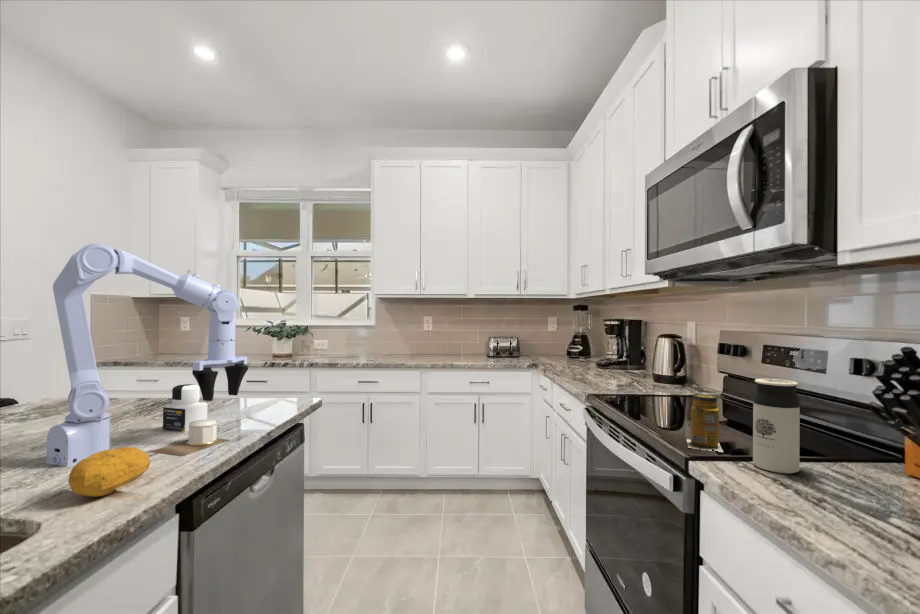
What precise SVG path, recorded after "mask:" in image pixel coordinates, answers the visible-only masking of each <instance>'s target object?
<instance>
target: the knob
mask: <svg viewBox="0 0 920 614" xmlns="http://www.w3.org/2000/svg"><path fill="white" fill-rule="evenodd" d="M219 439H220V438H219V437H217V438H216V440H214V441H212V442H208V443H201V444H192V443H190V442H189V439H187V440H188V441H187V440H186V441H187V445H189V446H204V445H210V444H214V443H216V442H218V441H219Z"/></svg>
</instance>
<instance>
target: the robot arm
mask: <svg viewBox="0 0 920 614" xmlns="http://www.w3.org/2000/svg"><path fill="white" fill-rule="evenodd" d="M114 270H115V271H114ZM113 271H114V274H115V275H130V274H131V275H135V276H138V277H140V278H143V279H145V280H149V281H152V282H153V283H157V284H159V285H162V286H164V287H167V288H170V289H171V290H172V291H173V294H174V296H175V297H176V298H178V299H181V300H185V301H186V302H189V303H191V304H194V305H195V306H199V307H200V308H207V310H208V311H209V321H208V342H207V343H208V344H207V345H208V349H207V351H208V352H207V358H206V359H202V360H201V359H200V360H196V361H192V370H191V371H192V376H193V377H194V378H195V381H196V382H197V385H198V386H199V387H200V392H201V397H202V401H203V402H205V401H206V402H212V401H213V399H214V395H215V394H214V393H215V384H216V380H217V376H218V374H219V371H217V370H213V369H216V368H217V369H218V368H224V371H225V374H226V378H227V393H228V396H238V394H239V390H240V388H241V384H242V381H243V379H244V376H245V374H246V373H247V372H248V371H249V365H248V356H247V355H246V356H241V355H239V356H236V331H237V330H236V324H237V321H236V312H237V310H239V308H240V305H241V302H240V301H239V298H238V296H237V295H236V294H235V293H234V292H233V291H231V290H229V289H221V285H219V284H213V283H210V282H208V281H206V280H203V279H201V276H200V275H198V274H196V273H194V274H192V275H191V274H189V273H186V274H185V273H184V274H181V275H177V274H175V273H173V272H171V271H169V270H167V269H164V268H162V267H161V266H158V265H156V264H154V263H152V262H149V261H148V260H145V259H144V258H142V257H139V256H137V255H135V254H132V253H130V252H127V251H124V250H121V249H119V248H114V249H112V247H110V246H108V245H106V244H103V243H98V242H97V243H90V244H87V245H85V246H83V247H82V248H80V249H79V250H78V251H76V252H75V253H73V254H72V255H71V256H70V257H69V260H68V261H67V263H66V264H65V266H64V267H63V268H62V269H61V272H60V273H59V274H58V276H57V277H56V279H55V281H54V282H53V283H52V291H53V296H54V301H55V306H56V311H57V317H58V322H59V327H60V333H61V338H62V343H63V350H64V353H65V354H64V355H65V360H66V364H67V370H68V376H69V380H70V387H71V388H70V391H69V394H68V397H67V403H68V410H69V414H67V416H65V417H64V421H63V422H61V423H59V424H56V425H54V426H52V427H50V428H49V430H48V431H47V436H46V458H45V460H46V464H47V465H51V466H52V465H53V466H60V467H66V468H67V467H68V468H69V467H74V466H75V465H76V464H78V463H79V462H80V461H81V460H82V459H85V458H87V457H89V456H91V455H93V454H95V453H98V452H101V451H104V450H110V446H111V445H110V444H111V443H110V440H111V439H110V438H111V435H110V433H111V431H110V430H111V413H110V412H107V411H108V409H109V407H110V397H109V395H108V393H107V392H106V390H105V388H104V387H102V385H101V381H100V376H99V372H98V371H99V370H98V366H97V361H96V356H95V350H94V344H93V340H92V335H91V327H90V323H89V317H88V311H87V305H86V301H85V297H84V293H85V292H86V291H87V290H88V289H89V288H90V287H91V286H92V285H93V284H94V283H95V281H97V280H99V279H101V278H103V277H105V276H106V275H108V274H110V273H111V272H113Z"/></svg>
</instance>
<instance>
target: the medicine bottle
mask: <svg viewBox="0 0 920 614" xmlns="http://www.w3.org/2000/svg"><path fill="white" fill-rule="evenodd" d="M171 391H172V392H171V396H172V397H171V402H172V403H170V404H166V405H163V408H162V409H163V410H162V430H163V431H172V432H179V433H181V432H182V433H186V432H189V423H190V422H193V421H197V420H208V406H209V405H208V402H205V401H203V402H202V401H200V392H201V390H200V387H199V384H191V383H188V384H187V383H185V384H179V385H178V384H177V385H175V386H173V387H172V389H171Z"/></svg>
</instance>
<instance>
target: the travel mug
mask: <svg viewBox="0 0 920 614" xmlns="http://www.w3.org/2000/svg"><path fill="white" fill-rule="evenodd" d="M754 382H755V384H756V390H755V392H754V393H753V396H752V397H753V398H752V399H753V400H752V405H753V406H752V409H753V410H752V413H753V414H752V419H753V420H752V425H753V426H752V463H753V465H754V466H755V467H757V468H759V469H761V470H764V471H767V472H771V473H776V474H783V475H784V474H785V475H788V474H795V473H798V472H800V451H801V450H800V448H801V447H800V444H801V443H800V436H801V435H800V421H801V420H800V417H801V416H800V413H801V412H800V410H801V409H800V407H801V405H800V404H801V403H800V402H801V401H800V398H799V395H798V394H797V392H796V391H797V387H798V386H799V382H797V381H793V380H787V379H779V378H755V380H754Z"/></svg>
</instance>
